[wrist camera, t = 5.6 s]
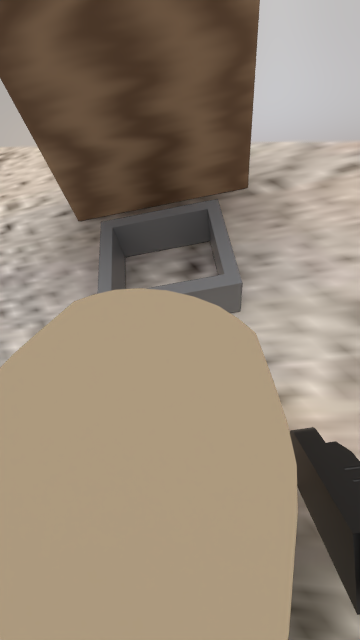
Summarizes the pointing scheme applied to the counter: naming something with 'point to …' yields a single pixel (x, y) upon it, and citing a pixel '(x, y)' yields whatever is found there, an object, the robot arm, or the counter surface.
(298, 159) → the counter surface
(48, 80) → the wooden l-shaped bracket
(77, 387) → the tan headed rod
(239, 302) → the socket
